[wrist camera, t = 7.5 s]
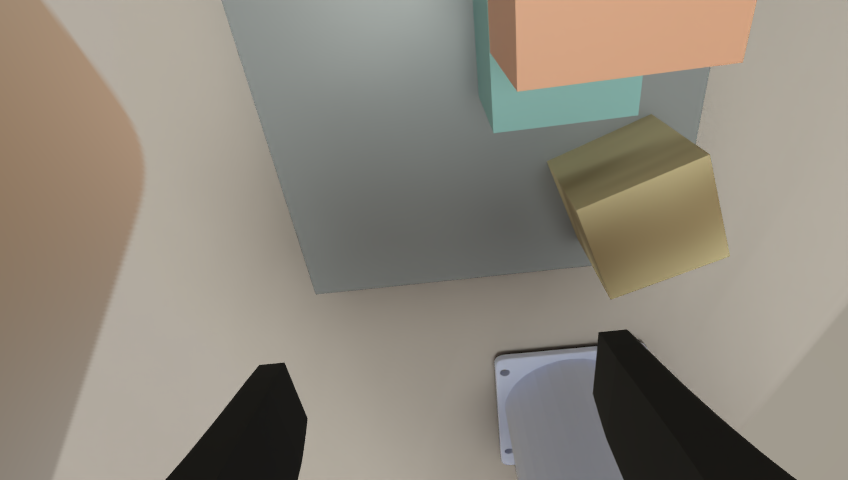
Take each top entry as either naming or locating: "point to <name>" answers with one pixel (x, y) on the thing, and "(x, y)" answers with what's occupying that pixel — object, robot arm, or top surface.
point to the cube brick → (613, 38)
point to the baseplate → (412, 143)
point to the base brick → (545, 93)
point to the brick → (642, 205)
